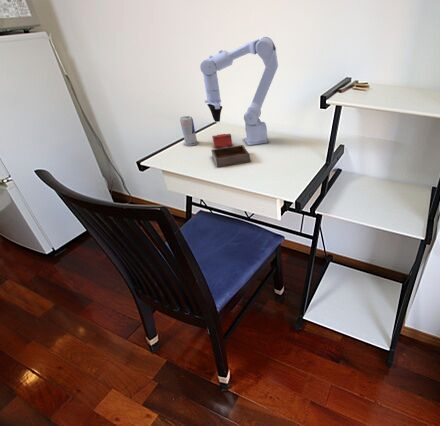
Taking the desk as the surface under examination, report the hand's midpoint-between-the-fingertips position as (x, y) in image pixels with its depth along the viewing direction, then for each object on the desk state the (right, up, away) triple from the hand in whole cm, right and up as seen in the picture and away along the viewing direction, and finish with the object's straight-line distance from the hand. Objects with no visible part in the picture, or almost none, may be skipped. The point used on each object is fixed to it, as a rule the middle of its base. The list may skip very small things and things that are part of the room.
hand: (216, 120), depth 140 cm
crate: (+9, -20, -12) cm, 25 cm away
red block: (+3, -11, 0) cm, 12 cm away
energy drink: (-12, -10, +1) cm, 16 cm away
